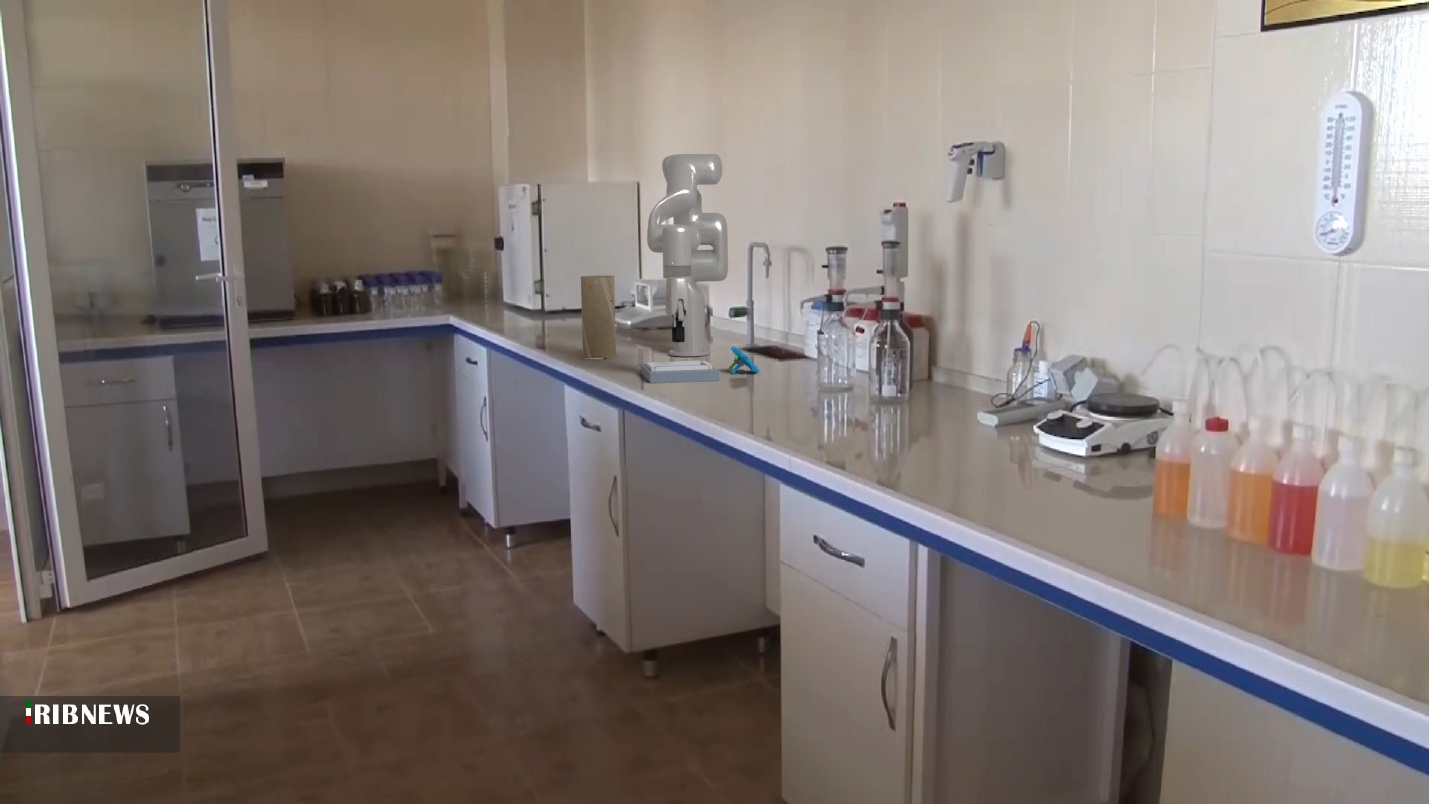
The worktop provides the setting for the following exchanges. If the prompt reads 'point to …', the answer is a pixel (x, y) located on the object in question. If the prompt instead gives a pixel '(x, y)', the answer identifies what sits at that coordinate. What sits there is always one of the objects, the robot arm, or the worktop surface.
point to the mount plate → (679, 371)
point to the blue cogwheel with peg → (741, 361)
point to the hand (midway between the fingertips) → (678, 341)
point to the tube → (598, 316)
